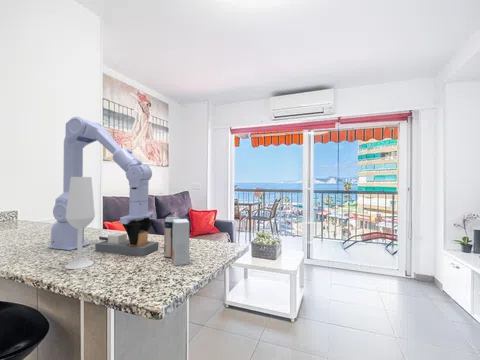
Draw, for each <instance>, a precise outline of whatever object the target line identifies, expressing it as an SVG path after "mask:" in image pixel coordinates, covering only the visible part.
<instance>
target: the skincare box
mask: <svg viewBox="0 0 480 360" xmlns="http://www.w3.org/2000/svg"><path fill="white" fill-rule="evenodd" d="M171 259H172V261H173V265H174V266H182V265H183V266H186V265H190V221H189V220H188V219H187V218H179V219H173V238H172V258H171Z"/></svg>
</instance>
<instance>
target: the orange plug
mask: <svg viewBox="0 0 480 360" xmlns="http://www.w3.org/2000/svg"><path fill="white" fill-rule="evenodd" d="M148 234H149V231H148V232H147V231H145V230H139V233H138V241H137V244H136V245H132V244H130V242H129V246H138V247H140V246H143V245H145V244H148V241H149V240H148V237H149V235H148Z"/></svg>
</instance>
